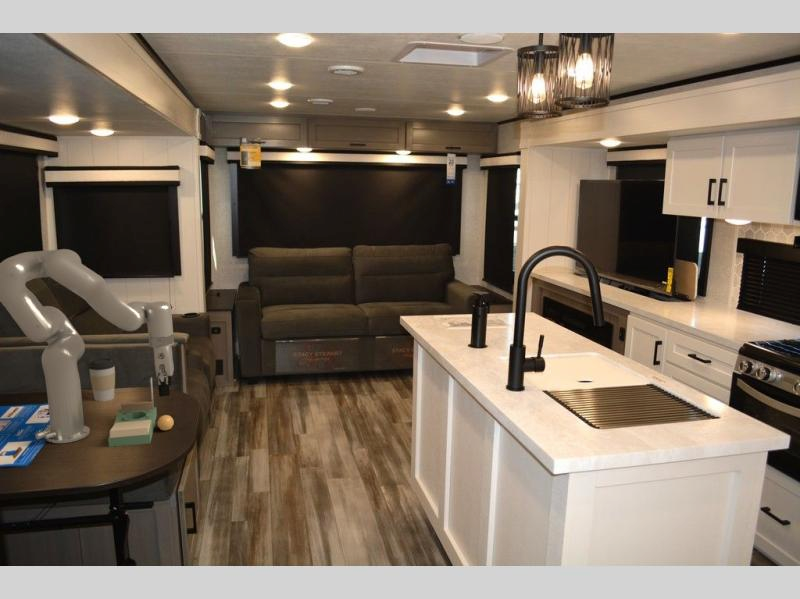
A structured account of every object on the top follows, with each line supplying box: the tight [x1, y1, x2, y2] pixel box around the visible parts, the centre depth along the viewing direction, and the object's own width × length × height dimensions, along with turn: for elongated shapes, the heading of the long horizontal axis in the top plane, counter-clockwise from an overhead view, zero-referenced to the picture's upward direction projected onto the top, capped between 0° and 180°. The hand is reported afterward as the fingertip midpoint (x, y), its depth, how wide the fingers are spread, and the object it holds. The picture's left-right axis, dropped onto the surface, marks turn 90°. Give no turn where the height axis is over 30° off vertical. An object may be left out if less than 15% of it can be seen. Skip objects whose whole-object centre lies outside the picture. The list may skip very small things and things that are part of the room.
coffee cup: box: [88, 357, 116, 402], centre depth 238 cm, size 9×9×15 cm
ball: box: [157, 414, 175, 431], centre depth 212 cm, size 5×5×5 cm
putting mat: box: [107, 376, 158, 448], centre depth 211 cm, size 25×12×14 cm, turn 16°
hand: (165, 390), depth 210 cm, fingers open, 9 cm apart
